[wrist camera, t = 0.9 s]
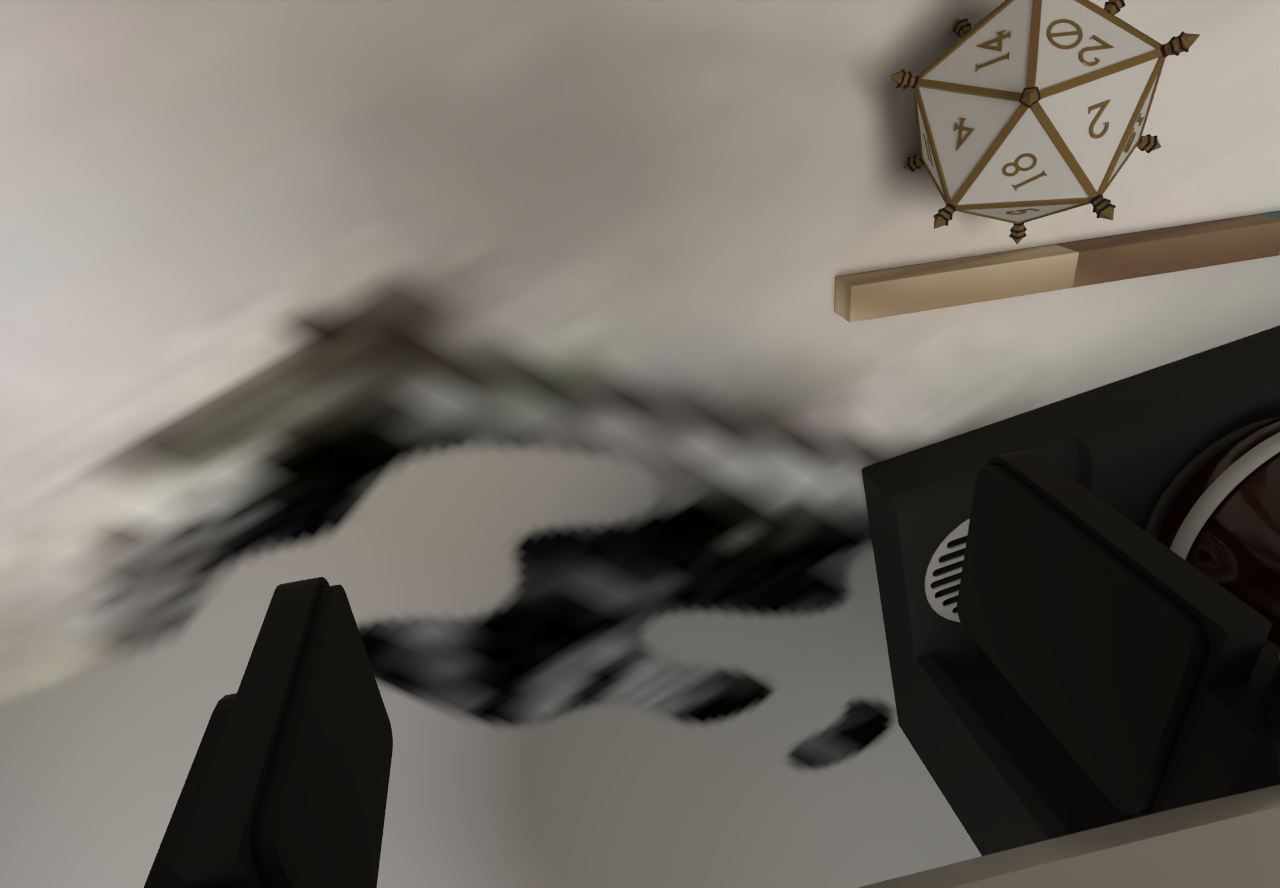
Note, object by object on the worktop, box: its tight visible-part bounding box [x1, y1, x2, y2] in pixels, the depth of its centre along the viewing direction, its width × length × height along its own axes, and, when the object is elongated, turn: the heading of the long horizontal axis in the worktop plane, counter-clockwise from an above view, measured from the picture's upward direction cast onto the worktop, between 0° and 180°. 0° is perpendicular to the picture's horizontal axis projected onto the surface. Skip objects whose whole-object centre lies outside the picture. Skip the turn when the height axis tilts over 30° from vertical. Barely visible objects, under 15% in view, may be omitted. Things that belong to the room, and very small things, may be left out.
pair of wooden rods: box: [835, 211, 1280, 322], centre depth 30 cm, size 15×30×2 cm, turn 95°
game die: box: [890, 0, 1200, 244], centre depth 26 cm, size 9×8×10 cm
